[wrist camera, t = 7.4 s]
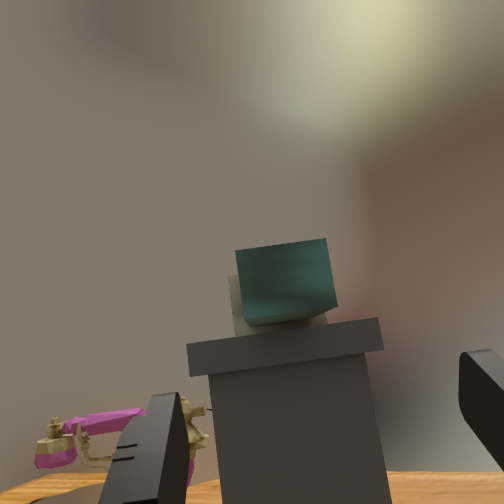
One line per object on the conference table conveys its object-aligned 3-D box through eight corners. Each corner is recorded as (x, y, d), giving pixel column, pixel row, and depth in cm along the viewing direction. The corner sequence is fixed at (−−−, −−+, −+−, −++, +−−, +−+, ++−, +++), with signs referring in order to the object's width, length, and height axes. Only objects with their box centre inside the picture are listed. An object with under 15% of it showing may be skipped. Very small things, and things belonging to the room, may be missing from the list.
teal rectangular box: (307, 329, 40) (301, 286, 41) (363, 314, 19) (346, 224, 19) (242, 338, 40) (236, 295, 41) (222, 334, 19) (211, 242, 19)
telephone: (-5, 643, 54) (-8, 429, 59) (84, 554, 76) (76, 404, 81) (282, 618, 51) (253, 396, 56) (288, 534, 73) (267, 379, 78)
